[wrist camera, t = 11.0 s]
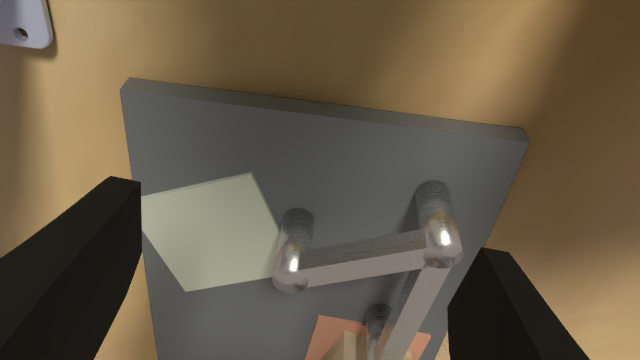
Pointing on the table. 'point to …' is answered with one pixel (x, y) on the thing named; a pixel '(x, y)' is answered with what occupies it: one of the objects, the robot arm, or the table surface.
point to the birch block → (351, 348)
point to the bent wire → (378, 266)
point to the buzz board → (287, 193)
